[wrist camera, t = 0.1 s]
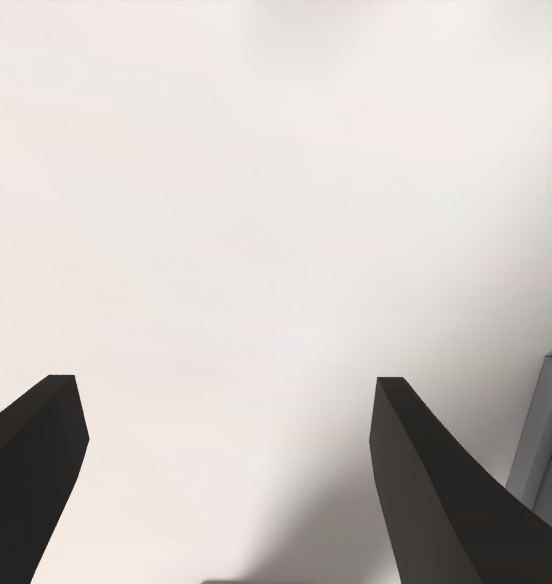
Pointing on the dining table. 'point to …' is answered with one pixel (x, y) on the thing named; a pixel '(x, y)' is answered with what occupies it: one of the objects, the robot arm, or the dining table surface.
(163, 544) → the dining table surface
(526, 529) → the robot arm
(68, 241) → the dining table surface
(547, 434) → the grey base plate
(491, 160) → the dining table surface
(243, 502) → the dining table surface
